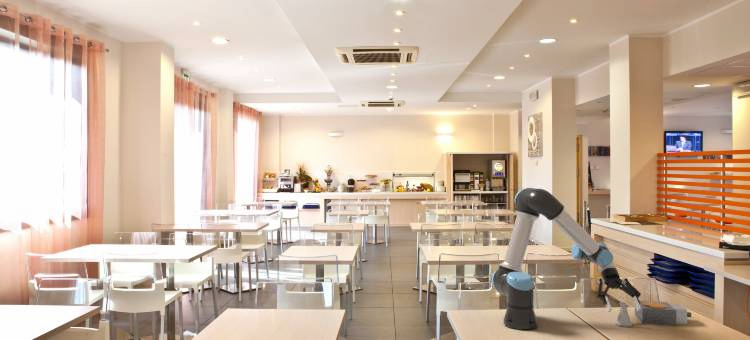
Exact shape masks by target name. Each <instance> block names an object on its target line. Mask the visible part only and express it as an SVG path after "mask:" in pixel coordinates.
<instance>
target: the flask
mask: <svg viewBox="0 0 750 340" xmlns="http://www.w3.org/2000/svg"><path fill="white" fill-rule="evenodd" d="M619 305H620V309H619V313H618V316H617V317H616V320H615V325H616V326H618V327H624V328H629V327H633V323H632V320H631V318H630V315H629V313H628V312H629V311H628V303H627V302H619Z"/></svg>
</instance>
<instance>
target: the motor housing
mask: <svg viewBox="0 0 750 340" xmlns="http://www.w3.org/2000/svg"><path fill="white" fill-rule="evenodd" d="M639 301H640V303H639V305H640V307H641V310H640V311H639V312H637V309H636V307H635V306H634V315H635V317H636V318H637V319H638V320H639V321H640V322H641V323H642V324H652V325H667V326H677V325H681V324H687V325H688V318H692V312H690V311H688V309H687V308H685V307H684V306H683V305H682V304H680V303H668V302H667V301H666V302H665V301H651V300H650V301H648V300H647V301H646V300H639Z"/></svg>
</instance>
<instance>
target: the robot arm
mask: <svg viewBox="0 0 750 340" xmlns="http://www.w3.org/2000/svg"><path fill="white" fill-rule="evenodd" d="M514 204H515V206H516V207H515V210H514V213H515V215H516V218H515V222H514V225H513V227H512V232H511V235H510V239H509V242H508V246H507V250H506V253H505V256H504V261H503V262H502V263H500V264H499V265H498V269H496V270H495V271H494V272H493V274H492V277H491V284H492V287H493V288H494V290H496V291H497V292H498V293H499V294H501V295H503V296H506V299H507V303H506V304H507V305H506V307H507V308H506V311H505V313H504V317H503V325H504V324H505V325H507V326H509V327H511V328H510V329H513V328H515V329H514V330H519V329H531V330H535V329H537V328H538V318H537V315H536V312H535V310H534V309H535V308H534V303H535V302H534V287H535V284H534V283H535V282H534V278H533V276H532V275H530V274H529V273H527V272H524V270H523V269H522V265H523V261H524V258H525V255H526V252H527V248H528V244H529V242H530V238H531V234H532V230H533V227H534V223H535V221H536V220H538V219H539V217H540V215H542V216H544V217H545V218H546V219H547V220H548V221H552V223H554V224H555V225H556V226H557V227H558V228H559V229H560V230H561V231H562V232H563V233H564V234H565V235H566V236H567V237H568V238H569V239H570V240H571V241H572V242H573V243H575V244H573V246H572V247H571V250H570V252H571V257H572V258H573V259H576V260H579V261H580V260H581V261H586V262H589V263H592V264H596V265H597V266H598V267H597V268H598V270H599V272H600V275H601V277H602V278H599V279H597V283H598V284H597V285H598V286H597V291H596V299H600V300H601V302H602V303H603V305H605V307H606V310H607V312H608V313H610V312H611V311H612V306H611V303H610V301H609V298H608V296H606V295H607V293H608V291H609V289H612V290H613V289H616V290H618V289H619V290H620V291H623V292H624V293H625V294H627V295H628V296H630V297H631V298H632V302H633V305H634V308H635V307H636V309H637V312H639V311H640V310H641V307H640V305H639V303H640V301H641V300H640V299H639V298H640V297H641V295H642V294H641V292H639V290H637V288H636V287H635V286H634V285H632V283H631V282H630V281H629V279H628V278H624V279H621V277H620V273H619V272H618V269H617V266H616V265H615V262H614V255H613V253H612V252H611V251H610V250H609V248H608V246H607V245H606V244H605V243H604V242H598V241H596V240H595V239H594V238H593V237H592V236H591V235H590V234H589V233H588V232H587V231H586V230H585V229H584V228H583V227H582V226H581V225H580V224H579V222H577V221H576V220H575V219H574V218H573V217H572V216H571V215H570V214H569V213H568V211H566V210H565V205H563V204H562V203H561V201H559V200H558V199H557V198H556V197H555V196H554V195H553V194H552V193H551V192H549V191H548V190H546V189H543V188H534V187H533V188H531V187H526V188H522V189H521V190H519V191H518V192H517V193H516V194H515V197H514ZM604 284H605V285H606V287H605V288H604V289H605V290H603V285H604ZM602 290H603V292H602ZM505 325H504V326H505ZM507 326H506V327H507ZM509 327H508V328H509Z"/></svg>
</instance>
